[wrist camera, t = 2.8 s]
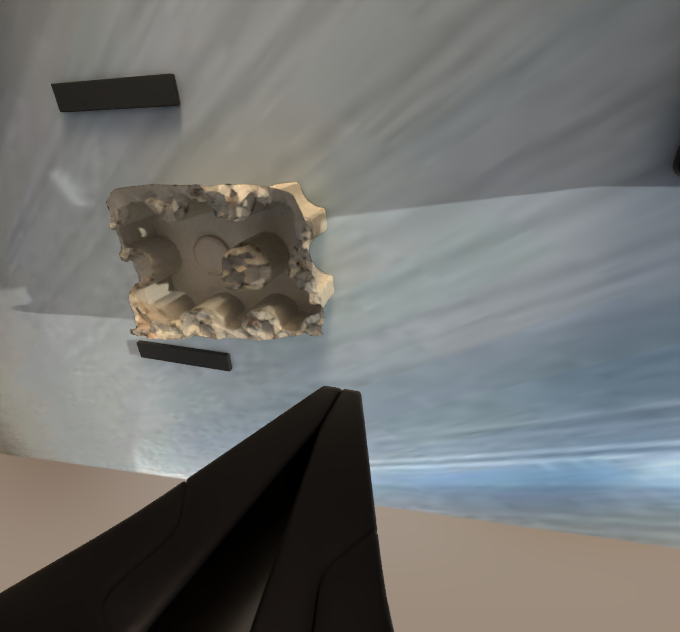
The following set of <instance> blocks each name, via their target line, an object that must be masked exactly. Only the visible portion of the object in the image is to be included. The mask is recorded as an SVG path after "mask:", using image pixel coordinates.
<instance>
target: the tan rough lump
mask: <svg viewBox="0 0 680 632" xmlns="http://www.w3.org/2000/svg"><path fill="white" fill-rule="evenodd" d="M106 204H107V206H108V209H109V212H110V229H111V230H116V232H117V234H118V236H119V239H120V242H121V252H120V253H119V256H120V258H121V260H122V261H125V262H127V261H129V260H132V261H133V264H134V267H135V270H136V272H137V275H138V277H139V281H140V282H138V283H137V284H135V285H134V287H133V288H132V289H131V290H130V293H129V301H130V306H131V309H132V311H133V313H134V314H135V324H136V329H131V334H133V335H136V336H147V338H152V339H155V338H162V339H165V340H170V339H187V338H190V337H192V336H204V337H209V338H212V339H222V338H226V337H228V338H247V339H252V340H256V341H259V340H266V339H276V338H282V337H286V336H297V335H301V334H304V333H307V334H309V335H310V336H319V335H322V334H323V333H321V326H322V323H323V321H324V311H323V307H324V305H325V304H326V303H327V301H329V299H330V298H331V297H332V296H333V295H334V286H333V276H332V275H326V274H325V273H323V272H321V271H319V270H318V269H317V268H316V267H315V265H314V263H313V262H312V261H311V258H310V255H309V245H310V243H311V241H312V240H313V239H314V238H315V237H317V236H318V235H319V234H321V233H323V232H324V231H326V230H327V220H326V212H325V209H324V208H320V207H317V206H314V205H313V204H312V203H310V202H309V201H307V199H306V198H305V196H304V195H303V193H302V190H301V187H300V184H299V183H297V182H294V183H283V184H278V185H274V186H271V187H266V186H257V185H250V184H240V185H231V184H221V185H216V186H203V185H159V184H152V185H142V186H132V187H124V188H118V189H115V190H114V191H112V192H111V194H110V195H109V197H108V199H107V201H106Z"/></svg>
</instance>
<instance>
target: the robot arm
mask: <svg viewBox="0 0 680 632" xmlns="http://www.w3.org/2000/svg"><path fill="white" fill-rule="evenodd" d="M673 170H674V172H675V173H676V174H677V175H678V176H680V146H679V149H678V151H677V154H676V157H675V160H674V163H673ZM0 632H394V630H393V625H392V620H391V616H390V611H389V606H388V602H387V597H386V590H385V584H384V578H383V570H382V564H381V557H380V548H379V540H378V534H377V525H376V516H375V507H374V499H373V490H372V482H371V473H370V465H369V456H368V448H367V439H366V431H365V422H364V413H363V405H362V396H361V393H360V392H359V391H354V390H348V389H344V390H341V389H340V388H336V387H330V386H323V387H321V388H320V389H318V390H317V391H315V392H314V393H312V394H311V395H309V396H308V397H306V398H305V399H303V400H302V401H301V402H299V403H298V404H296V405H295V406H293V407H292V408H290V409H289V410H287V411H286V412H284V413H283V414H281V415H280V416H279V417H277V418H276V419H274V420H273V421H271V422H270V423H268V424H267V425H265V426H264V427H262V428H261V429H260V430H258V431H257V432H255V433H254V434H252V435H251V436H249V437H248V438H246V439H245V440H243V441H242V442H240V443H239V444H238V445H236V446H235V447H233V448H232V449H230V450H229V451H227V452H226V453H224V454H223V455H221V456H220V457H218V458H217V459H216V460H214V461H213V462H211V463H210V464H208V465H207V466H205V467H204V468H202V469H201V470H199V471H198V472H197V473H195V474H194V475H192V476H191V477H189V478H188V479H187V482H182V483H180V484H179V485H177V486H176V487H174V488H173V489H171V490H170V491H168V492H167V493H166V494H164V495H163V496H161V497H159V498H158V499H156V500H155V501H153V502H152V503H150V504H149V505H147V506H146V507H144V508H143V509H141V510H140V511H138V512H137V513H135V514H134V515H132V516H130V517H129V518H127V519H125V520H124V521H122V522H120V523H119V524H117V525H115V526H114V527H112V528H110V529H109V530H108V531H105V532H104V533H102V534H101V535H99V536H97V537H96V538H94V539H92V540H90V541H89V542H87V543H86V544H84V545H82V546H80V547H78V548H77V549H75V550H73V551H72V552H70V553H68V554H66V555H65V556H63V557H61V558H60V559H58V560H56V561H55V562H53V563H51V564H49V565H48V566H46V567H44V568H42V569H41V570H39V571H37V572H36V573H34V574H32V575H30V576H29V577H27V578H25V579H23V580H22V581H20V582H18V583H17V584H15V585H13V586H11V587H10V588H8V589H6V590H5V591H3V592H2V593H0Z"/></svg>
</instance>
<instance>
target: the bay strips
mask: <svg viewBox="0 0 680 632" xmlns="http://www.w3.org/2000/svg"><path fill="white" fill-rule="evenodd" d="M51 86H52V89H53V92H54V95H55V98H56V101H57V104H58V107H59V110H60V112H77V111H94V110H111V109H128V108H145V107H162V106H179V105H180V101H179V96H178V91H177V86H176V81H175V76H174V74H160V75H148V76H137V77H125V78H114V79H102V80H91V81H79V82H68V83H56V84H51ZM137 346H138V349H139V352H140V355H141V357H143V358H150V359H156V360H162V361H168V362H174V363H181V364H187V365H193V366H199V367H205V368H211V369H218V370H224V371H231V370H232V366H231V361H230V356H229V354H228V353H221V352H214V351H207V350H200V349H194V348H187V347H180V346H173V345H166V344H160V343H153V342H146V341H138V342H137Z"/></svg>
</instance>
